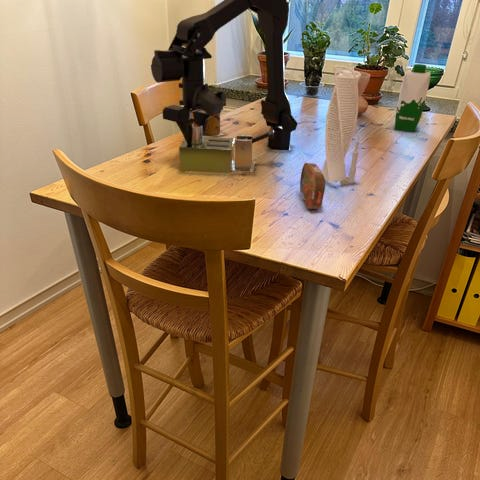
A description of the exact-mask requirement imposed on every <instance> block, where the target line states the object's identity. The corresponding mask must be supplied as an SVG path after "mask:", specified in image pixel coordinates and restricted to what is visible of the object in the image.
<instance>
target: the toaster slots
mask: <svg viewBox="0 0 480 480" xmlns="http://www.w3.org/2000/svg"><path fill="white" fill-rule="evenodd" d="M208 141H224V142H230V140H215V139H209V140H208ZM206 146H222V147H229V145H214V144H207V145H206Z"/></svg>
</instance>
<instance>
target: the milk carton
mask: <svg viewBox="0 0 480 480" xmlns="http://www.w3.org/2000/svg"><path fill="white" fill-rule="evenodd" d="M426 69H427V65H426V64H422V63H421V64H420V63H416V64H415V63H414V65H413V68H412V70H407V71H405V74H404V76H403V79H402V82H401V87H400V91H399V97H398V100H397V106H396V112H395V116H394V117H395V118H394V128H393V129H394V131H400V132H409V133H415V132H416V130H417V127H418V125H419V122H420V120H421V117H422V115H423V112H424V107H425V103H426V101H427V97H428V96H427V95H428V91H429V86H430V83H431V75H432V74H431V71H426Z"/></svg>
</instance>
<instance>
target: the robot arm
mask: <svg viewBox="0 0 480 480" xmlns="http://www.w3.org/2000/svg"><path fill="white" fill-rule="evenodd" d="M247 10H250V11H251V12H253V13H255V14H256V15H257V21H258V25H259V28H260V30H261V32H262V34H263V37H264V47H265V48H264V49H265V67H266V86H267V88H266V89H267V94H266V95H265V97H264V99H261V100H260V105H261V112H260V114H261V115H262V118H263V119H264V121H265V124H266V126H267V127H270V128H272V127H273V129H274V138H272V139H270V138H269V137H267V148H268V150H270V151H290V150H291V138H292V132H294V131H296V130H297V127H298V124H299V123H298V122H297V120H296V119H295V117H294V116H293V115H292V110H291V109H292V107H291V103H290V100H289V99H288V96H287V94H286V91H285V60H284V59H285V58H284V57H285V55H284V35H285V32H286V30H287V28H288V25H289V17H290V4H289V2H288V1H287V0H222V1H221V2H219V3H217V4H216V5H215V6H213V7H211V8H210V9H209V10H207V11H206V12H203V13H201V14H196V15H193V16H190V17H187V18H185V19H182V20H181V21H179V23H178V24H177V25H176V33H175V35H174V37H173V39H172V40H171V43H170V44H169V47H168V49H167V50H166V49H165V50H160V49H154V51H153V54H154V55H153V57H152V59H151V64H150V69H151V70H150V71H151V76H152V77H153V80H154V81H155V82H156V83H159V84H161V83H170V82H178V89H181V91H182V92H181V93H182V99H180V100H179V102H178V103H179V105H177V104H176V105H175V104H171V105H169V106H165V107H163V109H162V119H163V120H165V121H170V122H174V123H176V125H177V127H178V128H179V130H180V132H181V134H182V136H183V139H184V138H185V140H186V142H187V144H191V141H192V124H193V123H201V124H202V125H203V136H204V132H205V129H206V125H207V123H208V120H209V119H210V118H211V117H212V116H214V115H215V114H220V115H221V113H222V110H223V111H224V107H226V106H227V93H226V92H225V91H223V90H220V91H219V90H218V91H217V92H211V91H210V86H209V84H208V83H206V82H205V60H208V59H209V60H210V59H212V58H213V56H212V54H211V53H210V52H209V51H208V50H207V48H206V46H207V45H209V43H210V42H211V41H212V40H213V38H214V37H215V34H216V33H217V32H218V31H219V30H220V29H221V28H222V27H225V26H226V25H227V24H229V23H230V22H231V21H233V20H234V19H236V18H237V17H239V16H240V15H242V14H243V13H245V12H246V11H247ZM180 80H181V82H179V81H180Z"/></svg>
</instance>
